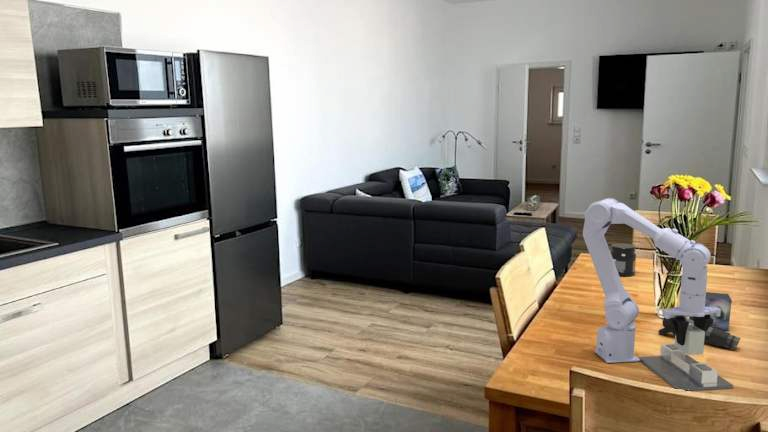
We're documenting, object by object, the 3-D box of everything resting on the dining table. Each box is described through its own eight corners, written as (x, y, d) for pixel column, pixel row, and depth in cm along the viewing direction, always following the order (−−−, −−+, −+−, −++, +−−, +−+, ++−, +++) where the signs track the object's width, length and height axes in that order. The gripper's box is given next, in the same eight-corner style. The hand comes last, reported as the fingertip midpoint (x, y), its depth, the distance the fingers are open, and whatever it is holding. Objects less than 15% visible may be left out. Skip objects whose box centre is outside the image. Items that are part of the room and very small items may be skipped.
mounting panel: (678, 391, 143) (680, 373, 143) (637, 359, 162) (639, 343, 161) (733, 388, 145) (734, 370, 144) (686, 357, 163) (687, 341, 163)
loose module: (688, 355, 149) (689, 331, 148) (674, 345, 155) (676, 323, 154) (703, 354, 150) (705, 331, 149) (688, 345, 155) (690, 322, 154)
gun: (658, 330, 183) (672, 302, 180) (725, 365, 173) (741, 337, 169) (654, 334, 180) (668, 306, 176) (722, 371, 169) (738, 342, 166)
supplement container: (637, 272, 250) (638, 244, 248) (632, 278, 242) (634, 249, 240) (610, 269, 256) (612, 242, 254) (605, 275, 247) (607, 246, 245)
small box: (690, 328, 185) (693, 296, 183) (688, 321, 191) (690, 290, 190) (729, 332, 182) (732, 299, 180) (725, 325, 188) (728, 293, 186)
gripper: (675, 298, 145) (671, 350, 147) (730, 296, 147) (725, 348, 149) (659, 290, 152) (655, 340, 154) (712, 287, 153) (707, 337, 156)
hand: (688, 343), depth 152 cm, fingers closed on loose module, 4 cm apart
